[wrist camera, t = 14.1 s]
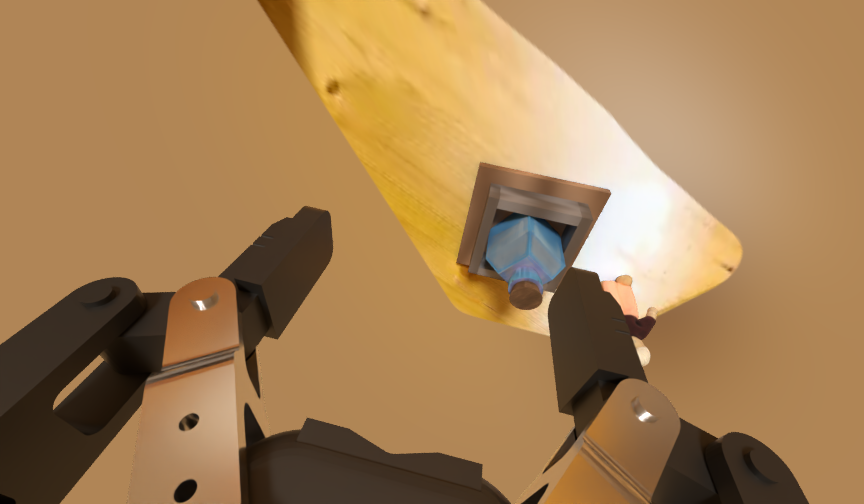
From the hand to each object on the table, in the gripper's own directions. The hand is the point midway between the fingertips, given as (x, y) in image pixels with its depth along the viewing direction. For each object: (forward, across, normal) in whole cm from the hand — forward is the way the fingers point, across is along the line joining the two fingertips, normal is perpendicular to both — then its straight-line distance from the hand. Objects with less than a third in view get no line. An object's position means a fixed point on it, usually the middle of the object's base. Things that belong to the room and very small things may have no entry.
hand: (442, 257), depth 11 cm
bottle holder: (+28, -9, +16) cm, 33 cm away
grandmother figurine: (+28, -23, +22) cm, 42 cm away
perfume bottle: (+27, -9, +16) cm, 33 cm away
